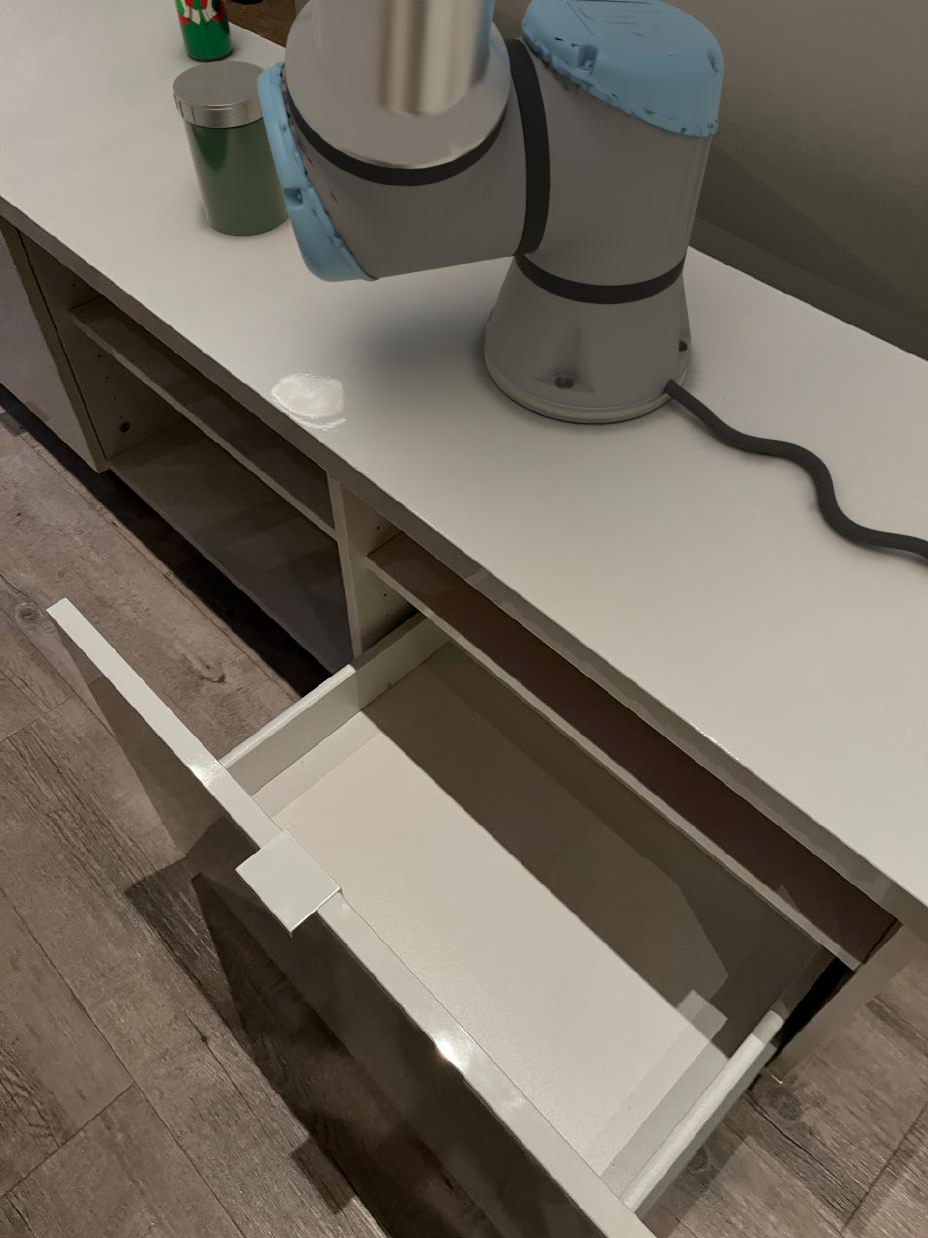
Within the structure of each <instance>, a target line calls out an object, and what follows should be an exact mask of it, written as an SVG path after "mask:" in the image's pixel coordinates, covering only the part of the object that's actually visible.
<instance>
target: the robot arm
mask: <svg viewBox="0 0 928 1238" xmlns="http://www.w3.org/2000/svg"><path fill="white" fill-rule="evenodd" d="M495 4H496V0H309V1H307V2H306V4H305V5H304V6H303V7H302V9H301V10H300V11H299V13H298V14H297V15H296V17H295V19H294V20H293V23H292V24H291V27H290V29H289V32H288V35H287V39H286V44H285V51H284V52H285V53H284V61H279V62H275V64H274V65H273V66H271V67H267V68H265V69H264V70H263V71H262V73H261V74H260V75H259V76H258V80H257V89H258V95H259V101H260V105H261V110H262V115H263V119H264V123H265V128H266V132H267V136H268V140H269V144H270V148H271V152H272V156H273V160H274V164H275V167H276V171H277V175H278V178H279V180H280V183H281V186H282V191H283V195H284V198H285V201H286V205H287V210H288V218H289V221H290V225H291V228H292V231H293V235H294V238H295V241H296V244H297V247H298V249H299V253H300V256H301V258H302V260H303V263H304V265H305V266H306V268H307V269H308V271H309V272H310V273H311V274H312V275H313V276H314V277H315V278H317V279H319V280H321V281H324V282H327V283H339V282H349V281H357V280H358V281H360V280H363V281H366V282H375V281H379V280H380V279H384V278H388V277H395V276H401V275H407V274H413V273H414V274H415V273H419V272H424V271H433V270H436V269H443V268H444V269H445V268H450V267H456V266H461V265H467V264H475V263H479V262H485V261H492V260H497V259H504V258H509V257H510V258H512V260H511V263H510V264H509V267H508V270H507V272H506V274H505V277H504V280H503V282H502V285H501V288H500V290H499V293H498V295H497V299H496V301H495V304H494V305H493V307H492V309H491V311H490V313H489V316H488V319H487V323H486V328H485V332H484V333H485V334H484V361H485V365H486V368H487V371H488V373H489V376H490V377H491V379H492V380H493V381H494V383H495V384H496V385H497V386H498V388H499V389H500V390H501V391H502V392H503V393H504V394H505V395H507V396H508V397H509V398H510V399H512V400H513V401H515V402H516V403H517V404H519V405H521V406H522V407H525V408H526V409H528V410H530V411H533V412H535V413H537V414H540V415H543V416H545V417H548V418H551V419H552V418H553V419H557V420H561V421H565V422H572V423H583V424H605V423H607V424H609V423H616V422H621V421H626V420H630V419H633V418H637V417H640V416H643V415H646V414H648V413H650V412H652V411H654V410H656V409H658V408H660V407H661V406H663V405H664V404H665V403H666V402H668V401H669V400H670V399H673V400H674V401H675V402H677V403H678V404H679V405H681V406H682V407H683V408H684V409H686V410H687V411H688V412H689V413H691V414H692V415H693V416H695V417H696V418H697V419H698V420H700V422H702V424H704V425H705V426H706V427H707V428H708V429H709V430H710V431H711V432H712V433H714V434H715V435H716V436H717V437H719V438H720V439H721V440H723V441H724V442H726V443H729V444H731V445H733V446H734V447H737V448H740V449H743V450H746V451H747V450H748V451H750V452H751V451H752V452H755V453H756V452H757V453H762V454H768V455H769V454H770V455H776V456H782V457H785V458H789V459H792V460H795V461H796V462H799V463H800V464H802V465H803V466H804V467H805V468H806V469H808V470H809V472H810V473H811V474H812V476H813V478H814V481H815V483H816V488H817V495H818V499H819V504H820V507H821V511H822V512H823V514H824V516H825V518H826V519H827V521H828V522H829V523H830V525H832V527H834V528H835V530H837V531H838V532H840V533H842V534H843V535H844V536H846V537H849V538H850V539H852V540H854V541H857V542H859V543H862V544H866V545H869V546H874V547H879V548H886V549H892V550H899V551H904V552H909V553H912V554H915V555H918V556H920V557H922V558H924V559H925V560H926V561H928V540H926V539H924V538H921V537H917V536H913V535H908V534H903V533H896V532H890V531H883V530H877V529H874V528H869V527H866V526H864V525H860V524H859V523H856V522H855V521H854V520H852V519H850V518H849V517H848V516H847V515H846V514H845V513H844V512H843V511H842V509H841V507H840V505H839V503H838V500H837V497H836V496H837V495H836V491H835V487H834V481H833V478H832V475H831V472H830V470H829V468H828V467H827V465H826V464H825V462H824V461H823V460H822V459H821V458H820V457H819V456H818V455H816V454H815V453H814V452H812V451H810V450H809V449H808V448H806V447H803V446H801V445H799V444H796V443H794V442H789V441H784V440H780V439H779V440H778V439H771V438H765V437H759V436H754V435H750V434H747V433H744V432H741V431H739V430H737V429H735V428H733V427H731V426H730V425H729V424H727V423H725V421H724V420H722V419H721V418H720V417H719V416H718V415H717V414H716V413H714V412H713V411H712V410H711V409H710V408H709V407H708V406H707V405H706V404H704V403H703V402H702V401H700V400H699V399H698V398H697V397H695V396H694V395H692V394H691V392H689V391H688V390H686V389H685V388H683V387H682V385H683V383H684V380H685V378H686V376H687V375H686V374H687V370H688V367H689V363H690V358H691V352H692V334H691V327H690V319H689V311H688V305H687V298H686V289H685V283H684V275H683V274H684V273H683V272H684V269H685V268H684V267H685V262H686V259H687V258H686V257H687V253H688V248H689V245H690V240H691V235H692V230H693V226H694V222H695V218H696V213H697V208H698V204H699V199H700V195H701V190H702V186H703V181H704V177H705V171H706V167H707V163H708V158H709V153H710V149H711V145H712V140H713V136H714V134H716V132H717V131H718V127H719V113H720V112H719V111H720V105H721V104H720V103H721V95H722V88H723V79H724V73H725V62H724V56H723V55H724V54H723V52H722V49H721V46H720V44H719V42H718V40H717V39H716V37H715V35H714V34H713V33H712V32H711V31H710V30H709V29H708V28H707V27H706V26H705V25H704V24H703V23H702V22H700V20H698V19H697V18H695V17H693V16H692V15H691V14H689V13H687V12H686V11H684V10H682V9H680V8H678V7H676V6H674V5H671V4H669V3H666V2H664V1H662V0H531V2H529V4H528V6H527V8H526V11H525V14H524V16H523V18H522V20H521V23H520V24H521V28H520V29H521V36H518V37H514V38H505V39H504V38H503V36H502V34H501V31H499V29H498V27H497V26H496V24H495V23H494V21H493V18H494V10H495Z"/></svg>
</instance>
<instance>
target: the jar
mask: <svg viewBox="0 0 928 1238" xmlns="http://www.w3.org/2000/svg"><path fill="white" fill-rule="evenodd" d="M182 122H183V126H184V130H185V134H186V138H187V139H186V140H187V143H188V148H189V151H190V155H191V159H192V164H193V167H194V168H193V169H194V171H195V176H196V180H197V185H198V189H199V192H200V193H199V194H200V197H201V201H202V205H203V210H204V214H205V218H206V221H207V223H208V225H209V226H210V227H211V228H213V229H214V230H216V231H218V232H219V233H223V234H225V235H231V236H238V237H239V236H240V237H241V236H242V237H243V236H253V235H254V236H255V235H259V234H263V233H266V232H269V231H271V230H273V229H276V228H278V226H280V225H281V224H283V222H284V221H285V220H286V219H287V217H288V216H289V214H288V210H287V205H286V201H285V198H284V195H283V191H282V186H281V183H280V180H279V178H278V175H277V171H276V167H275V164H274V160H273V156H272V152H271V148H270V144H269V140H268V136H267V132H266V128H265V123H264V119H263V117H261V118H260V119H258V120H256V121H253V122H251V123H248V124H244V125H240V126H235V127H226V128H212V127H204V126H199V125H196V124H193V123H190V122H188V121H187V120H185V119H184V118H182Z"/></svg>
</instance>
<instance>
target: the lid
mask: <svg viewBox="0 0 928 1238" xmlns="http://www.w3.org/2000/svg"><path fill="white" fill-rule="evenodd" d="M263 70H265V69H264V68H263V67H261V66H259V65H257V64H254V63H252V62H251V63H250V62H246V61H240V60H214V61H208V62H204V63H201V64H198V65H195V66H193V67H190V68H188V69H185V70H184V71H183V72H181V73H179V74H178V76H177V77H175V79H174V80H173V83H172V91H173V93H172V95H173V99H174V103H175V107H176V110H178V113H179V115H180V116H181V118H182V119H183V118H184V119H185V120H187V121H188V122H190V123H193V124H196V125H199V126H204V127H212V128H226V127H235V126H240V125H244V124H248V123H251V122H253V121H256V120H258V119H260V118H261V117H263V115H262V110H261V105H260V101H259V95H258V89H257V80H258V76H259V75H260V74H261V73H262V71H263Z"/></svg>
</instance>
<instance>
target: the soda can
mask: <svg viewBox="0 0 928 1238" xmlns="http://www.w3.org/2000/svg"><path fill="white" fill-rule="evenodd" d="M173 1H174V5H175V6H174V7H175V9H176V14H177V19H178V24H179V27H180V33H181V35H182V40H183V45H184V50H185V52H186V53H187V54H188V55H189V56H190V57H192V58H193V59H195V60H196V61H197V60H198V61H203V62H214V61H219V60H221V59H223V58H226V57H227V56H228V55H229V54H230V52H231V51H232V49H233V46H234V44H233V38H232V34H231V28H230V23H229V17H228V12H227V11H228V10H227V7H226V1H225V0H173Z"/></svg>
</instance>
